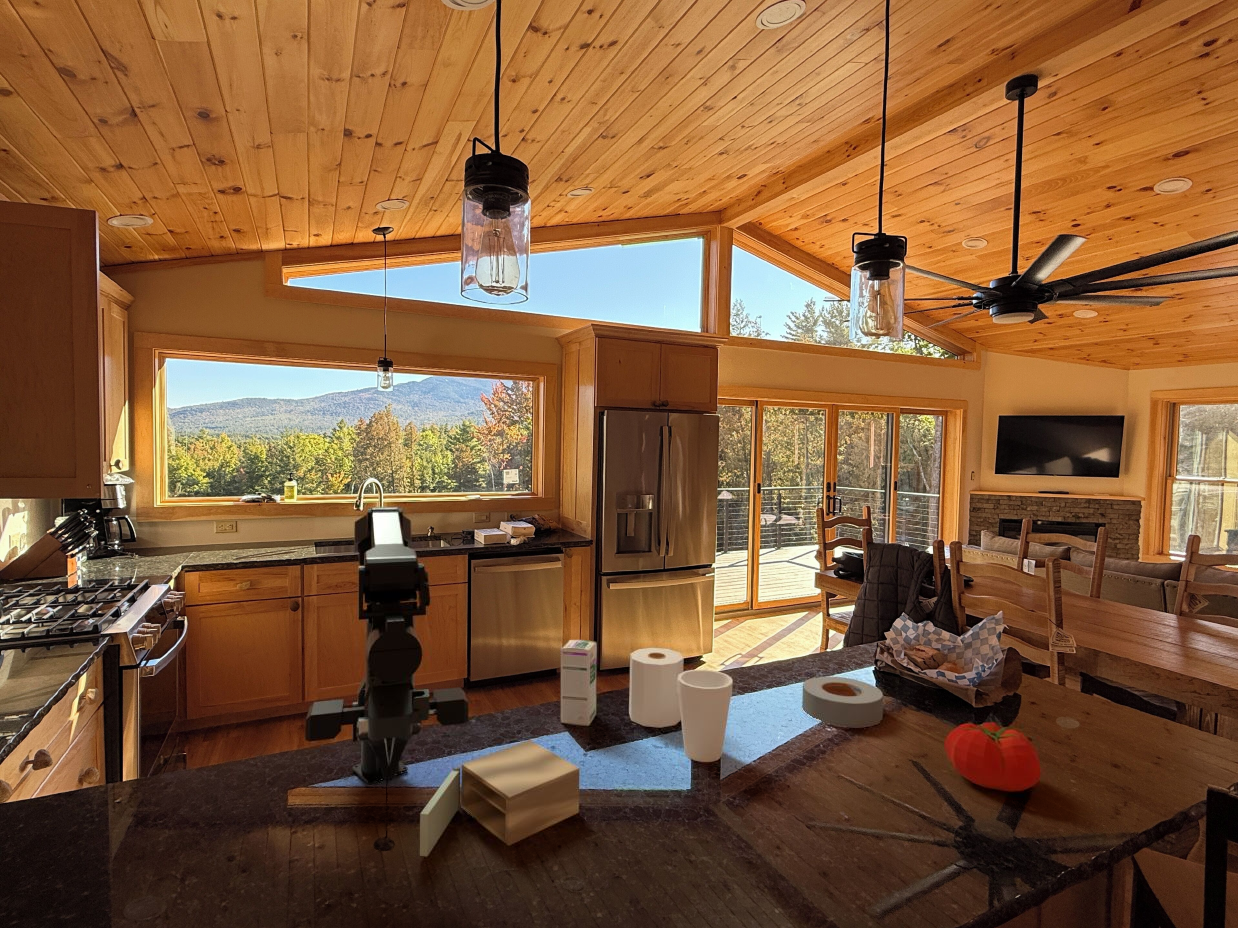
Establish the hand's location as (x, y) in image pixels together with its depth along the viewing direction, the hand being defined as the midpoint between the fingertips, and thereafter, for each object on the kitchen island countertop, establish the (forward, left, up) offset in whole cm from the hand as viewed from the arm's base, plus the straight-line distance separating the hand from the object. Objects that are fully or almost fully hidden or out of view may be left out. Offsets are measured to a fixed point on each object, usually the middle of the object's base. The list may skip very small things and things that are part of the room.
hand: (389, 780), depth 84 cm
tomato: (+44, +81, -11) cm, 93 cm away
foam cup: (+7, +53, -11) cm, 55 cm away
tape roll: (+14, +88, -11) cm, 90 cm away
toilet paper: (-9, +58, -11) cm, 60 cm away
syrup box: (-18, +46, -11) cm, 51 cm away
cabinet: (+1, +19, -10) cm, 22 cm away
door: (-1, +8, -10) cm, 13 cm away
